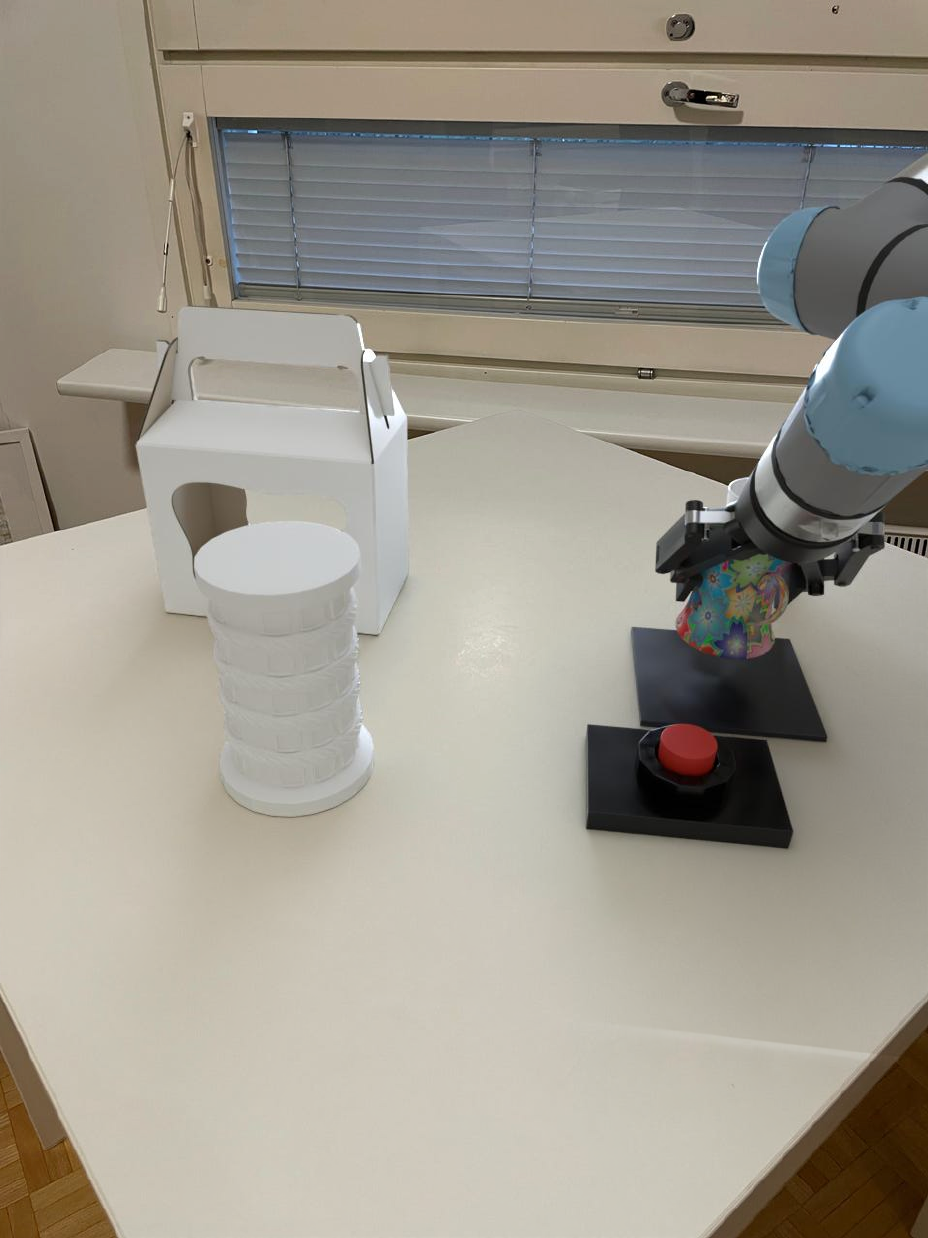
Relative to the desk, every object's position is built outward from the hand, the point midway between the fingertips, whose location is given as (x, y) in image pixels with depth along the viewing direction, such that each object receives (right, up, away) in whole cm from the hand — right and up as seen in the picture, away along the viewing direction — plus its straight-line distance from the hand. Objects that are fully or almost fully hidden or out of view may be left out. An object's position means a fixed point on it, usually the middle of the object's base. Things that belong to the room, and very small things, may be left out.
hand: (729, 590), depth 77 cm
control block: (-7, -15, -11) cm, 20 cm away
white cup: (+8, +2, +18) cm, 20 cm away
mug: (0, -5, -1) cm, 5 cm away
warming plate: (-1, -8, +1) cm, 8 cm away
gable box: (-41, 0, +13) cm, 43 cm away
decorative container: (-36, -14, -10) cm, 40 cm away
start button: (-7, -13, -13) cm, 20 cm away
